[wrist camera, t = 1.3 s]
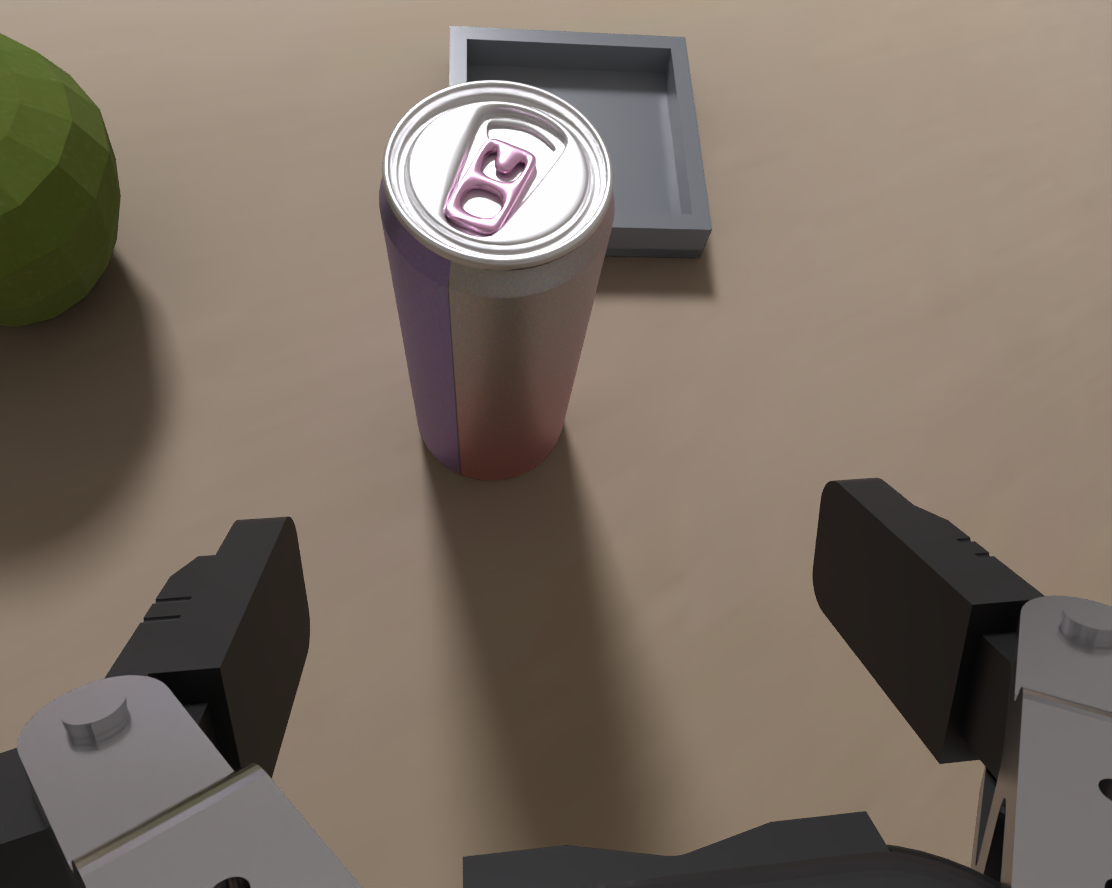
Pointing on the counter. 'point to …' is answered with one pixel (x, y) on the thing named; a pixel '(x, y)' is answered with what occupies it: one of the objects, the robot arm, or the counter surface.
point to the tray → (615, 121)
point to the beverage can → (494, 265)
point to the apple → (51, 189)
